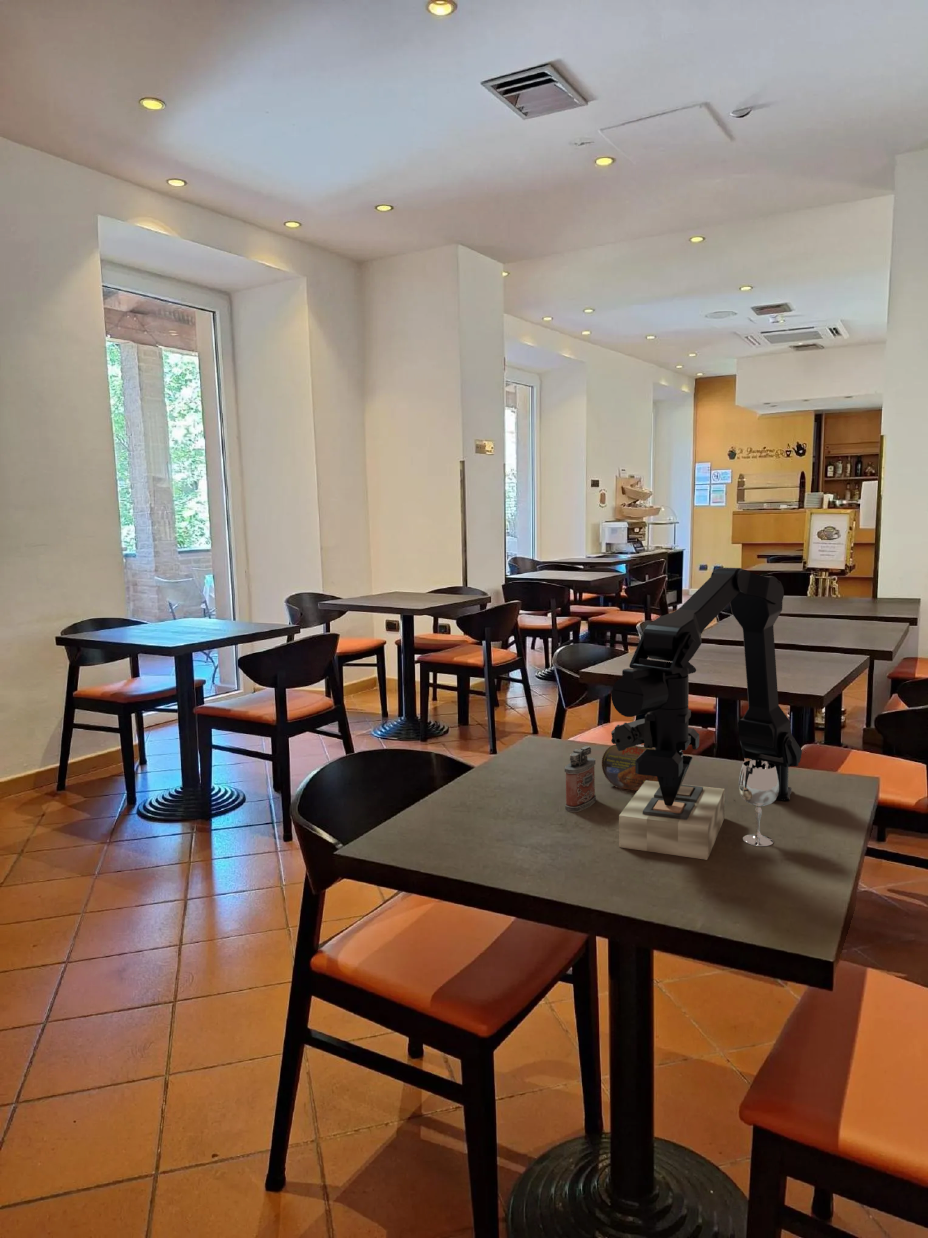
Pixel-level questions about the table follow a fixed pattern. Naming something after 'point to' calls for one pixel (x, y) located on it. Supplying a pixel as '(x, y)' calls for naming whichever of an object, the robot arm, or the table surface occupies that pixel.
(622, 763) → the tin
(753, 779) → the wineglass
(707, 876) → the table surface
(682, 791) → the peg
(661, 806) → the peg
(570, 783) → the lighter
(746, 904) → the table surface
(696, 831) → the board
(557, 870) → the table surface
